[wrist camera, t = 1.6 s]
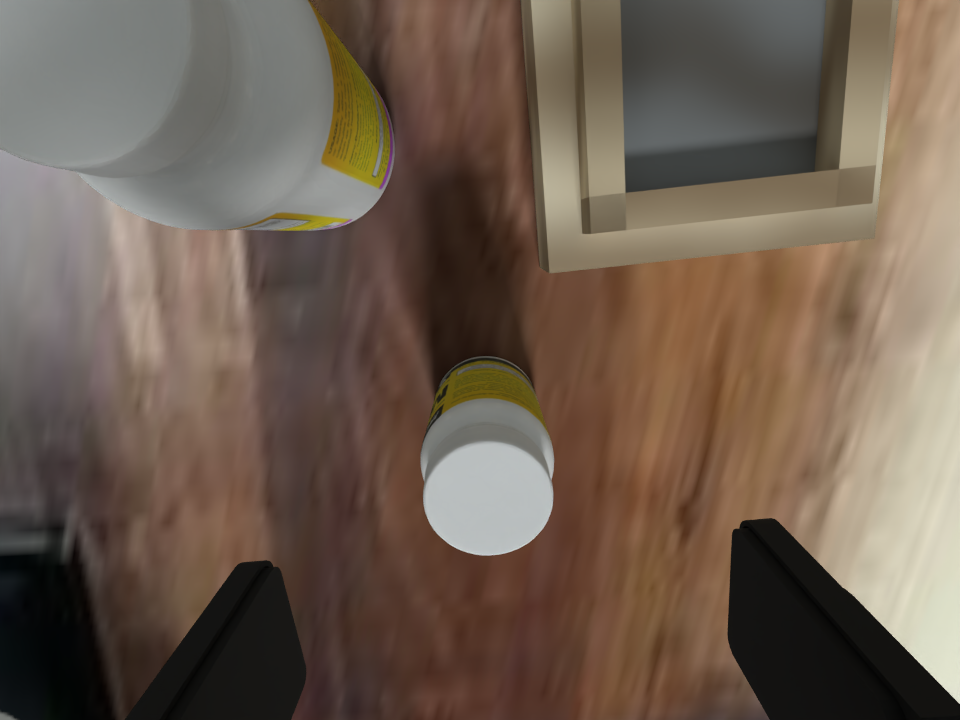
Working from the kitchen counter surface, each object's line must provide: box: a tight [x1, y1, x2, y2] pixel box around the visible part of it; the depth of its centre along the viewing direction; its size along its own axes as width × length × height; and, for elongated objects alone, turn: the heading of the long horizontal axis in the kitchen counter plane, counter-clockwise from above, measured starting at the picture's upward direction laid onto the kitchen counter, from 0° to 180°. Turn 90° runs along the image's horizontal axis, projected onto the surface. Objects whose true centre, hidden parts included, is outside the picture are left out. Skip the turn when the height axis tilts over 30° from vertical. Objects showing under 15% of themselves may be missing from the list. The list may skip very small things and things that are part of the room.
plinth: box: [520, 0, 899, 273], centre depth 17 cm, size 12×12×4 cm
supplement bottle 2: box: [421, 356, 554, 555], centre depth 19 cm, size 5×5×8 cm
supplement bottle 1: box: [0, 0, 395, 230], centre depth 13 cm, size 7×7×13 cm
